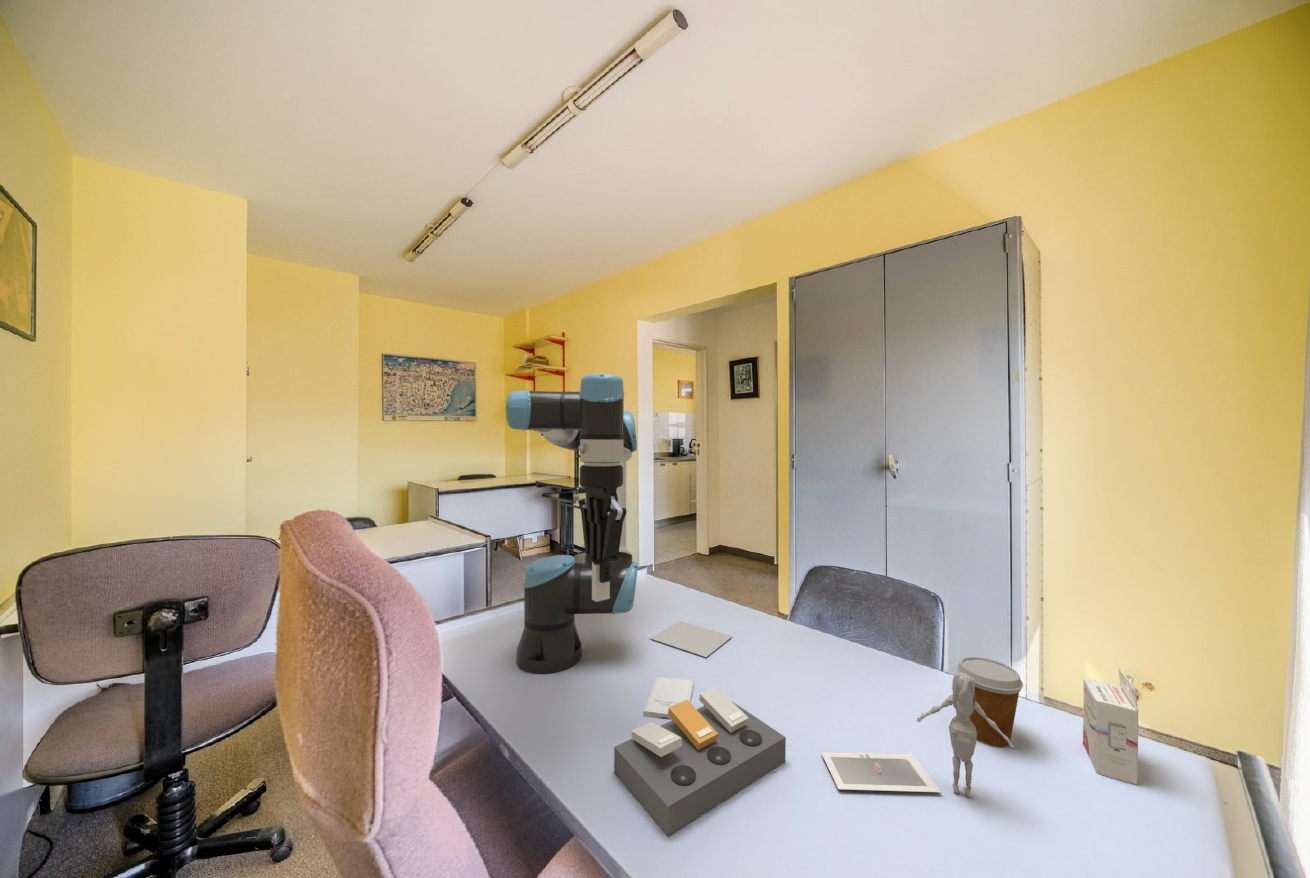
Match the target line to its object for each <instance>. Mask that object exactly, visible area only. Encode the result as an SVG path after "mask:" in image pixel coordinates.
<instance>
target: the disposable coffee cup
mask: <svg viewBox="0 0 1310 878" xmlns="http://www.w3.org/2000/svg"><path fill="white" fill-rule="evenodd" d="M956 671H957V673H958V672H962V673H966V674H967V675H969V676H970V677H971V678H973V679H975V691H974V694H975V701H976V702H977V703H978V704H979V705H980V707H981V709H982V710H983V711H984V712H985V714H986V716H987V718H989V719H990V720H992V721H994V722H995V723H996V725H997V727H998V729H999V730H1000V731H1001V732H1002V733H1003V734H1004V735H1006V736H1007V737H1008V738H1009V740H1010V742H1011V741H1012V735H1013V734H1012V733H1013V730H1014V729H1013V728H1014V723H1015V717H1016V713H1017V706H1018V701H1019V696H1020V692H1021V691H1022V689H1023V687H1024V682H1023V681H1022V680H1021V677H1020V673H1019V672H1018V671H1017V670H1016V669H1014V668H1013V667H1011V666H1010V665H1007V664H1005V663H1002V662H1000V661H997V660H995V659H994V660H993V659H990V658H988V657H987V658H986V657H981V656H965V657H962V658H960V660H959V663H958V664H957V665H956ZM969 718H970V720H971V722H972V723H973V724H974V726H975V728H976V731H977V734H978V737H977V741H979V742H980V743H983V744H986V745H988V746H993V747H997V748H1005V747H1008V746H1010V745H1009V743H1008V742H1007V741H1006V740H1005V738H1004V737H1003V736H1002V735H1001V734H1000V733H998V732H997V731H996V730H995V729H994V728H993V727H991V726H990V725H989V723H988V722H987V720H986V719H985V718H984V717H982V716H981V715H980V714H979V713H978V712H977V711H976V710H975V709H974V711H973V712H972V713H971V715H970V717H969Z"/></svg>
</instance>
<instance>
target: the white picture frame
mask: <svg viewBox="0 0 1310 878" xmlns="http://www.w3.org/2000/svg"><path fill="white" fill-rule="evenodd" d="M820 753H821V755H822V757H823V760H824V762H825V764H826V765H827V768H828V770H829V772H830V773H831V776H832V778H833V781H834V782H835V785H836V787H837V788H838V790H849V791H852V790H855V791H886V792H889V791H890V792H917V793H918V792H919V793H921V792H922V793H942V791H941V790H940V788H939V787H938V785H937V784H936V783H935V782H934V781H933V779H932V778H931V776H930V775H929V774H928V773H927V771H926V770H925V769H924V768H923V766H922V765H921V764H920V762H919V761H918V760H917V758H916V757H915V755H914V754H909V753H908V754H905V753H904V754H901V753H899V754H898V753H867V752H866V753H865V752H830V751H829V752H828V751H826V752H825V751H822V752H820Z"/></svg>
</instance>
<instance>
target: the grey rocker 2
mask: <svg viewBox="0 0 1310 878" xmlns="http://www.w3.org/2000/svg"><path fill="white" fill-rule="evenodd" d="M698 699H699V701H700V703H702V705H703V706H705V707H706V708H707V709H708V710H709V711H710V712H711V713H712V714H713V715H714V716H715V717H716V718H717V719H718V720H719V721H720V722H721V723H722V724H723V725H724V727H725V728H726V729H727V730H728V731H729V732H730V733H731V732H733V731H735V730H737V729H739V728H741V727H743V726H745V725H747V724H748V719H749V718H748V717H747V716H746V715H745V714H744V713H743V712H742V711H741V710H740V709H739V708H738V707H737V706H736V705H735V704H736V703H735V702H734V701H732V700H731V699H730V698H729V697H728V696H727V695H726V694H725V693H724V692H723V691H722V690H721V689H719V687H718V686H715V687H713V688H711V689H709V690H705V691H703V692H701V693H700V694H699V698H698ZM733 702H734V703H735V704H734V703H733Z"/></svg>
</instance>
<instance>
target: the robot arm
mask: <svg viewBox="0 0 1310 878" xmlns="http://www.w3.org/2000/svg"><path fill="white" fill-rule="evenodd" d="M580 379H581V380H580V388H579V389H580V390H579V391H550V390H549V391H547V390H545V391H544V390H543V391H542V390H539V391H538V390H528V389H525V390H515V391H511V392H509V394H508V395H507V398H506V403H505V417H506V422H507V425H508V427H509V428H510V429H512V430H522V431H535V432H538V433H540V434H541V435H543V437H544V439H545V440H547V442H549V443H550V444H552V445H554V446H557V447H560V448H562V449H566V450H570V451H576V452H579V461H580V462H581V463H583V464H582V465H580V467H579V485H580V487H582V488H586V492H585V499H580V500H579V501H578V506H579V510H580V514H581V523H582V535H583V542H584V543H583V544H584V553H585V555H584V562H576V558H575V557H574V556H573V555H570V554H569V555H567V554H557V555H551V556H547V557H543V558H540V559H537V560H535V561H532V562H531V563H529V564H528V566H527V567H526V569H525V571H524V583H523V587H524V588H523V589H524V590H523V591H524V597H523V599H524V600H523V602H524V603H523V604H524V605H523V606H524V607H523V608H524V609H523V610H524V611H523V613H524V615H523V616H524V618H523V619H524V621H523V622H524V623H523V624H524V625H523V626H524V627H523V630H522V633H521V637H520V640H519V642H518V645H517V648H516V653H515V654H516V658H515V660H516V665H517V666H518V668H520V669H522V670H523V671H525V672H527V673H528V672H529V673H535V674H551V673H557V672H560V671H565V670H566V669H569V668H571V667H574V665H576V664H578V662H580V660H581V658H582V655H583V654H582V653H583V650H582V642H581V638H580V636H579V632H578V630H577V629H578V628H577V626H576V623H575V616H576V615H589V614H590V615H593V614H594V615H596V614H597V615H599V614H611V615H615V614H624V613H629V612H631V610H632V609H633V607H634V603H635V597H636V593H635V592H636V587H637V580H638V579H637V577H638V571H639V568H638V567H639V563H638V562H637V561H635V560H634V561H633V553H631V552H630V550H629V549H628V548H627V463H628V461H629V460H631V459H632V457H633V454H632V453H634V452H636V451H637V448H638V440H637V430H636V429H637V428H636V422H635V419H634V415H633V414H632V413H631V411H629V410H624V409H625V407H624V405H625V404H624V402H625V401H624V398H625V391H624V380H623V377H621V376H619V375H615V374H610V373H609V374H608V373H593V374H591V373H590V374H586V375H584V376H582V377H581V378H580Z"/></svg>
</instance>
